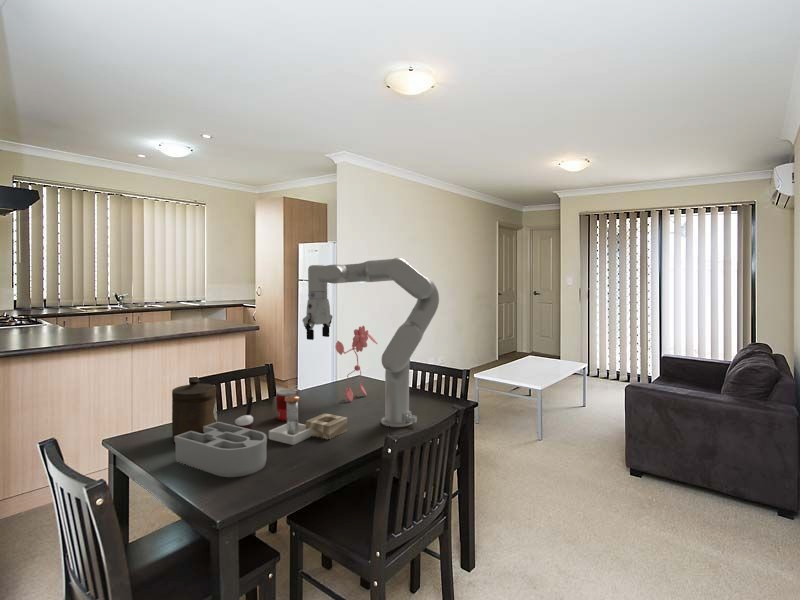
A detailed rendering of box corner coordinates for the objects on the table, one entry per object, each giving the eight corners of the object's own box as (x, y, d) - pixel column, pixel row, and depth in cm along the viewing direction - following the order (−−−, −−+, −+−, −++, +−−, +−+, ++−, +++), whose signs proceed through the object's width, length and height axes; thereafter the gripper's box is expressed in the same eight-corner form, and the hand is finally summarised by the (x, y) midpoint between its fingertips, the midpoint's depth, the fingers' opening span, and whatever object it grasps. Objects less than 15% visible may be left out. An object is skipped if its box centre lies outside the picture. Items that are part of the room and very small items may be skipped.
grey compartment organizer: (218, 446, 159) (218, 421, 158) (278, 462, 145) (278, 435, 145) (174, 463, 145) (173, 436, 144) (236, 483, 131) (235, 454, 130)
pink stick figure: (330, 403, 209) (331, 327, 207) (365, 391, 231) (366, 322, 228) (356, 409, 201) (357, 330, 198) (390, 396, 222) (391, 325, 220)
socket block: (347, 430, 174) (347, 417, 174) (329, 439, 164) (329, 426, 164) (324, 425, 179) (324, 413, 179) (305, 434, 170) (305, 421, 169)
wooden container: (226, 435, 169) (224, 376, 168) (189, 448, 156) (188, 384, 155) (200, 428, 176) (198, 371, 175) (163, 440, 164) (161, 379, 162)
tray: (315, 434, 169) (314, 426, 169) (293, 445, 159) (293, 436, 159) (291, 429, 175) (291, 421, 175) (268, 439, 165) (268, 430, 165)
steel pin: (302, 433, 168) (302, 396, 167) (293, 438, 164) (292, 399, 163) (292, 431, 171) (291, 394, 170) (282, 435, 166) (281, 397, 165)
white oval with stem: (238, 438, 167) (237, 406, 165) (229, 433, 171) (227, 402, 169) (261, 430, 174) (260, 399, 173) (251, 426, 178) (250, 396, 177)
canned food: (291, 421, 184) (291, 394, 183) (273, 420, 186) (272, 393, 185) (299, 416, 191) (299, 390, 191) (281, 414, 193) (281, 389, 192)
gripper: (310, 297, 175) (311, 341, 176) (338, 295, 190) (338, 336, 191) (295, 296, 179) (296, 340, 180) (324, 294, 194) (324, 334, 195)
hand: (318, 338), depth 186 cm, fingers open, 9 cm apart
